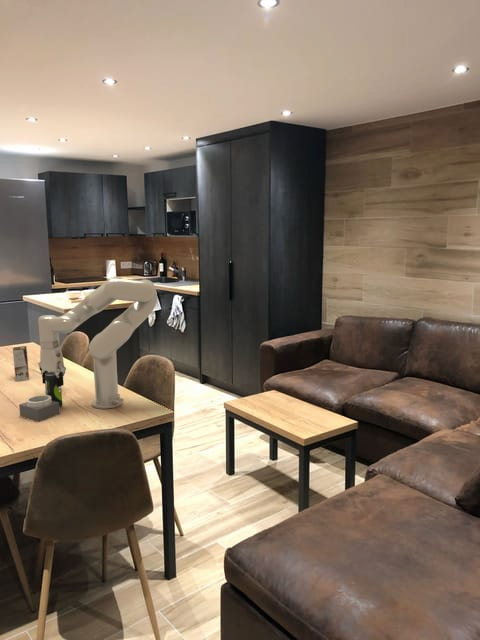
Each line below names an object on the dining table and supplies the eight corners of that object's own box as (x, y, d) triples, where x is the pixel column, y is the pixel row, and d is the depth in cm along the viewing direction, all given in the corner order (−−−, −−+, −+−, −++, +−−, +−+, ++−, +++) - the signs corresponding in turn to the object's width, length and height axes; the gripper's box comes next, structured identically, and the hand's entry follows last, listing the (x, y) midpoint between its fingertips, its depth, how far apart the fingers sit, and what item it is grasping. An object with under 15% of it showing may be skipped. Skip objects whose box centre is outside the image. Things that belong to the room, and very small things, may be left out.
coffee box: (29, 380, 255) (26, 349, 252) (15, 381, 253) (12, 350, 250) (29, 375, 264) (26, 345, 261) (16, 376, 261) (13, 346, 258)
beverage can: (44, 407, 213) (41, 373, 211) (56, 403, 218) (54, 370, 216) (53, 410, 210) (50, 376, 207) (65, 406, 215) (63, 372, 212)
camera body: (59, 414, 205) (58, 397, 204) (38, 421, 197) (37, 404, 196) (41, 408, 212) (40, 393, 211) (20, 416, 204) (18, 399, 202)
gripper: (71, 345, 208) (73, 385, 211) (44, 340, 217) (47, 379, 220) (55, 348, 202) (59, 389, 205) (29, 344, 211) (32, 383, 214)
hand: (53, 384), depth 212 cm, fingers open, 8 cm apart
